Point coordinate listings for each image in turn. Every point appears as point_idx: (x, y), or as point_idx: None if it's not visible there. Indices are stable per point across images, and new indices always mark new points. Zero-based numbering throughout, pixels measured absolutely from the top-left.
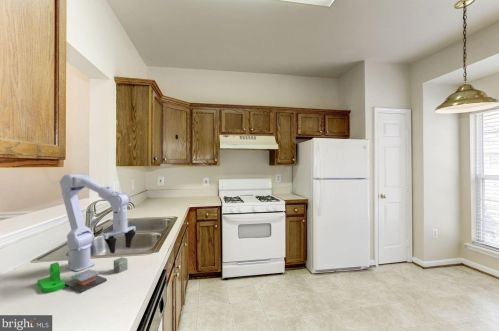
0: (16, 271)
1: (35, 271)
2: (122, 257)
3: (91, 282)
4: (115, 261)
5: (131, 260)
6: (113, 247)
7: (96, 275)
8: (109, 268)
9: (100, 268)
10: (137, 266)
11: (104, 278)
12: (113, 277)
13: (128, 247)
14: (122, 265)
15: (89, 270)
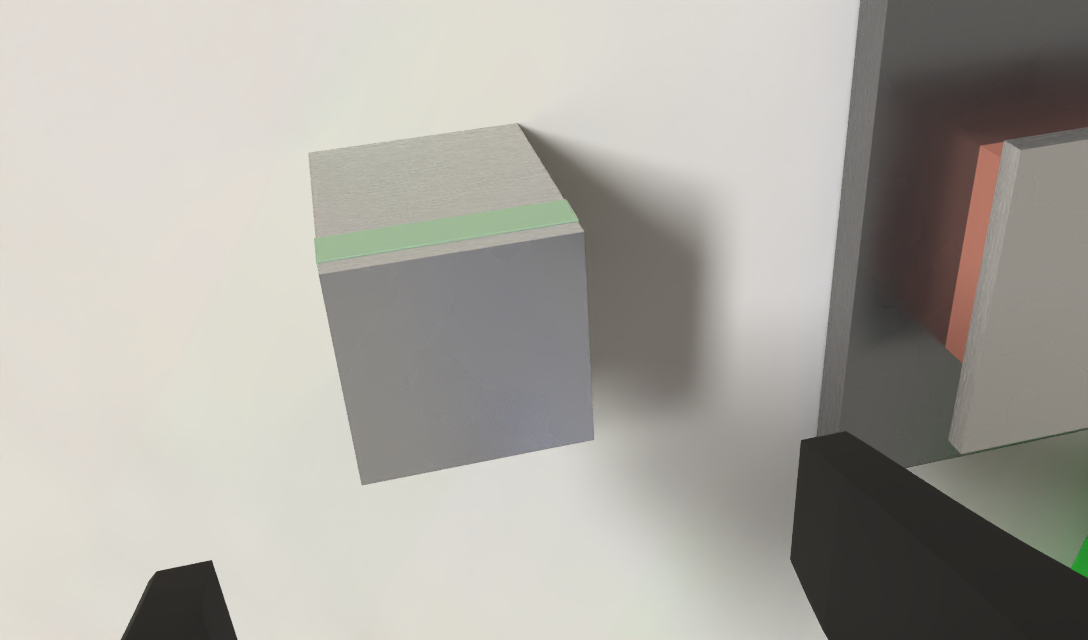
0: None
1: None
2: (360, 456)
3: (1083, 84)
4: (585, 370)
5: (15, 520)
6: (1017, 550)
7: (865, 294)
8: (508, 468)
9: (592, 567)
10: (48, 107)
11: (900, 37)
12: (702, 22)
13: (216, 585)
14: (461, 193)
15: (988, 417)
